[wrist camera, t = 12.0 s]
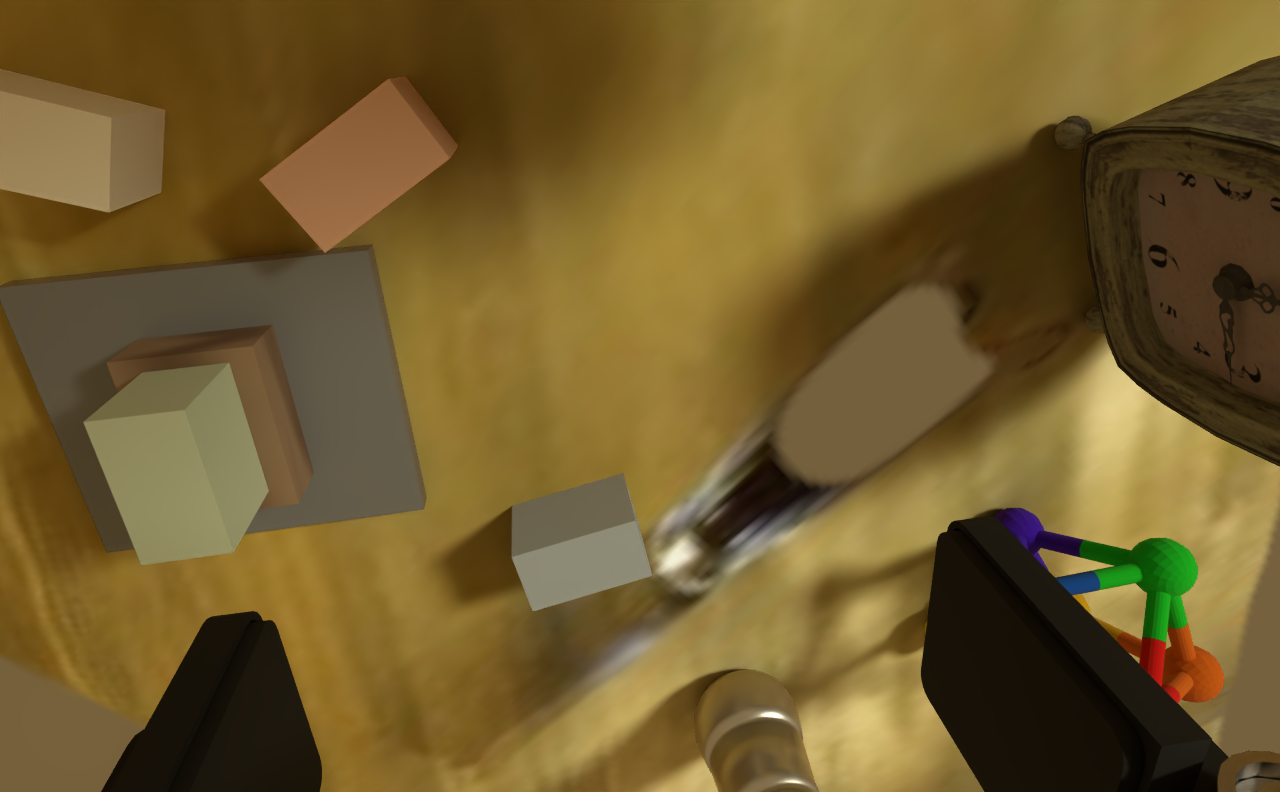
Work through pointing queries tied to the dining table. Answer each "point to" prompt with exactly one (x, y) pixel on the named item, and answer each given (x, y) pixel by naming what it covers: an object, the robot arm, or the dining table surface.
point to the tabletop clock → (1192, 251)
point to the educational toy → (1164, 579)
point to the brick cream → (77, 144)
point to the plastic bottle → (752, 735)
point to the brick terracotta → (361, 162)
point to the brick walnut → (258, 390)
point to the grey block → (577, 542)
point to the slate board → (229, 299)
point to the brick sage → (180, 462)
